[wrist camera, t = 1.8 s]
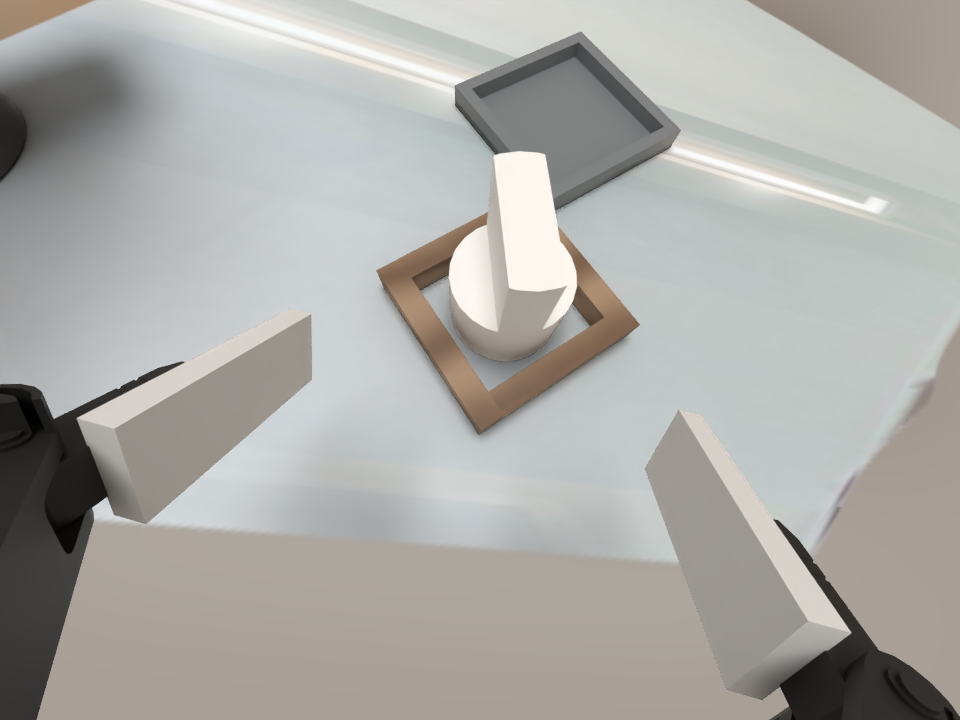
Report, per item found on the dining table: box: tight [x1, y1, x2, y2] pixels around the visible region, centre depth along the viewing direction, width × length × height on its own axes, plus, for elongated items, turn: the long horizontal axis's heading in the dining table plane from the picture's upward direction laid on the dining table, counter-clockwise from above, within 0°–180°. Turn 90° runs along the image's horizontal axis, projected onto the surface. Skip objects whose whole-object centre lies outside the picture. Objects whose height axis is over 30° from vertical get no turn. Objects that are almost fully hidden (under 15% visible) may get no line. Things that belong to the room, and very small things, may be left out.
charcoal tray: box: [455, 32, 681, 210], centre depth 36 cm, size 16×16×2 cm
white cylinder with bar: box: [449, 151, 577, 361], centre depth 25 cm, size 9×9×12 cm
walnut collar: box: [376, 212, 640, 434], centre depth 30 cm, size 15×15×2 cm
